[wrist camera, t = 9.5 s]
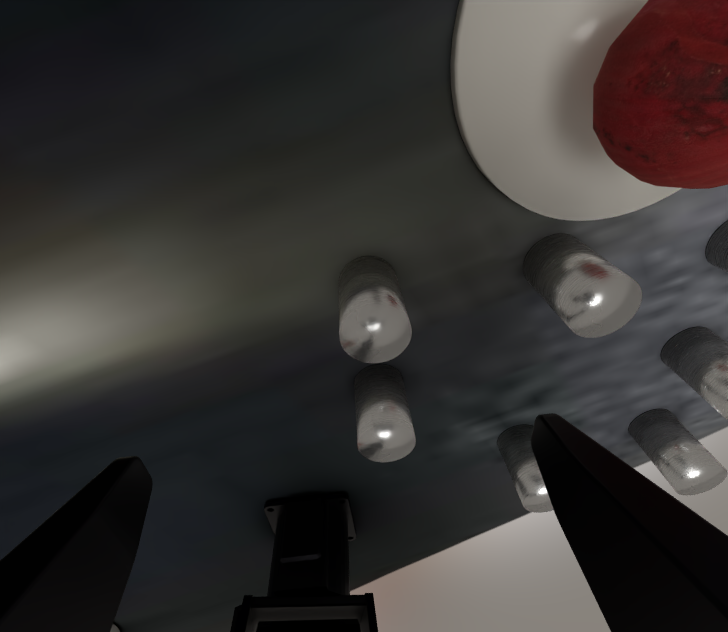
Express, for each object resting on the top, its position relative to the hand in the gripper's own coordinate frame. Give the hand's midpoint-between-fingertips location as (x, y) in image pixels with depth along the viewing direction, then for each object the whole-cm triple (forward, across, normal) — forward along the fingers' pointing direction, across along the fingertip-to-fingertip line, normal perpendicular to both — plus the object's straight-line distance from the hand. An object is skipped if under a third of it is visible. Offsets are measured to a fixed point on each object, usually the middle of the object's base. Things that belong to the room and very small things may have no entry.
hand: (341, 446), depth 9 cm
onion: (+10, -12, -6) cm, 17 cm away
